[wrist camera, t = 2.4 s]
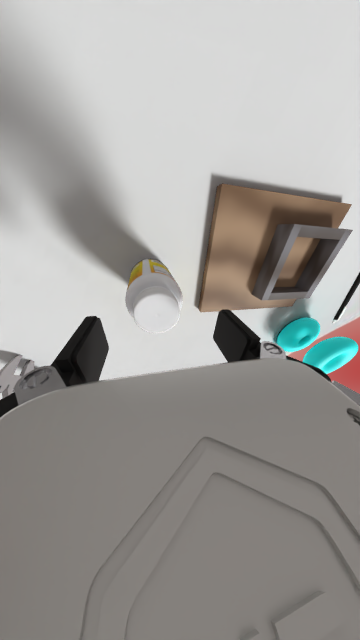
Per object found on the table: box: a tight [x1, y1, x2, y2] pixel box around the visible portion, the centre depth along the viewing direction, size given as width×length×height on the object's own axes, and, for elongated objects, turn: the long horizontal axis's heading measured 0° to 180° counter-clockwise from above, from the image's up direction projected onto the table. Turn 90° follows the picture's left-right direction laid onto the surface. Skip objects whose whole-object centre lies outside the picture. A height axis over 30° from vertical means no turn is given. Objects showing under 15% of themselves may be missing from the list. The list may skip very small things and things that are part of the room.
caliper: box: [0, 355, 34, 398], centre depth 25 cm, size 20×1×6 cm, turn 24°
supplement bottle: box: [126, 259, 183, 333], centre depth 15 cm, size 6×6×10 cm
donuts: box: [277, 318, 358, 374], centre depth 31 cm, size 10×10×10 cm
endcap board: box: [198, 184, 353, 312], centre depth 20 cm, size 16×20×4 cm
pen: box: [332, 273, 360, 324], centre depth 31 cm, size 1×19×1 cm, turn 14°
